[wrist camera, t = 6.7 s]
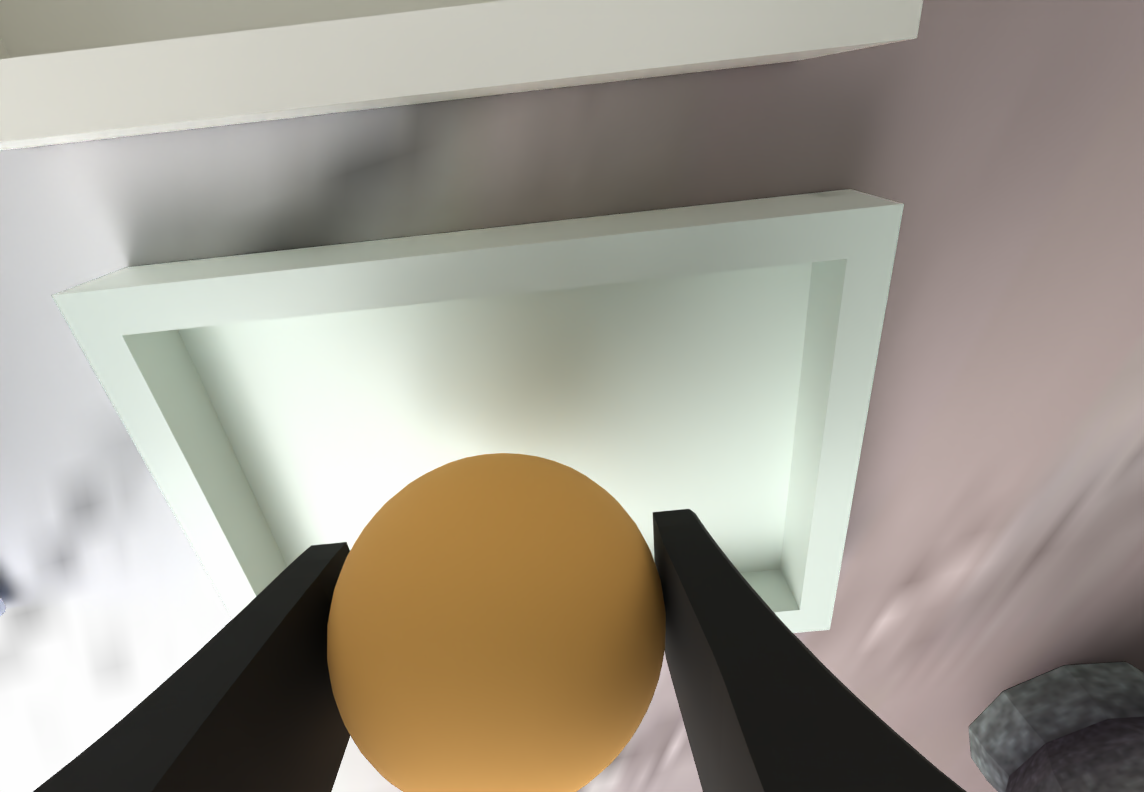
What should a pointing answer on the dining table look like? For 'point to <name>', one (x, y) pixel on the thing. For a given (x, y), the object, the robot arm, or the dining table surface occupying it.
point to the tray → (514, 377)
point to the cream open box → (376, 54)
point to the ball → (496, 629)
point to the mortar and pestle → (1065, 732)
